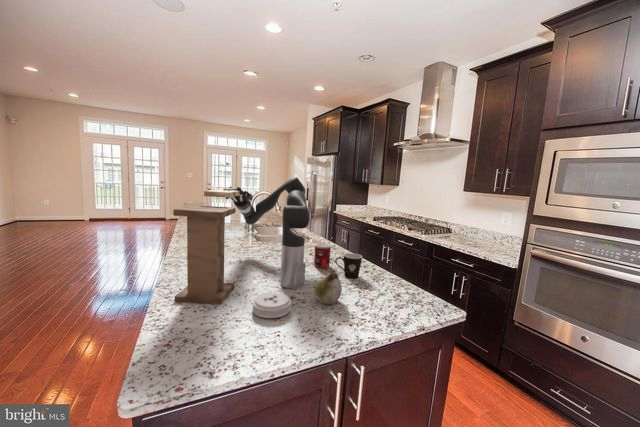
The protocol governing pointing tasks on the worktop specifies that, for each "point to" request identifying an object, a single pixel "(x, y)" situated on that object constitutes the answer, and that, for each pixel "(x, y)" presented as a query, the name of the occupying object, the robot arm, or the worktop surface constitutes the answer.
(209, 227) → the tall stand
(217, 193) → the wooden board
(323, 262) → the canned food
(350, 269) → the coffee mug
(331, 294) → the fruit
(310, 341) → the worktop surface
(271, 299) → the lid
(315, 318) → the worktop surface
